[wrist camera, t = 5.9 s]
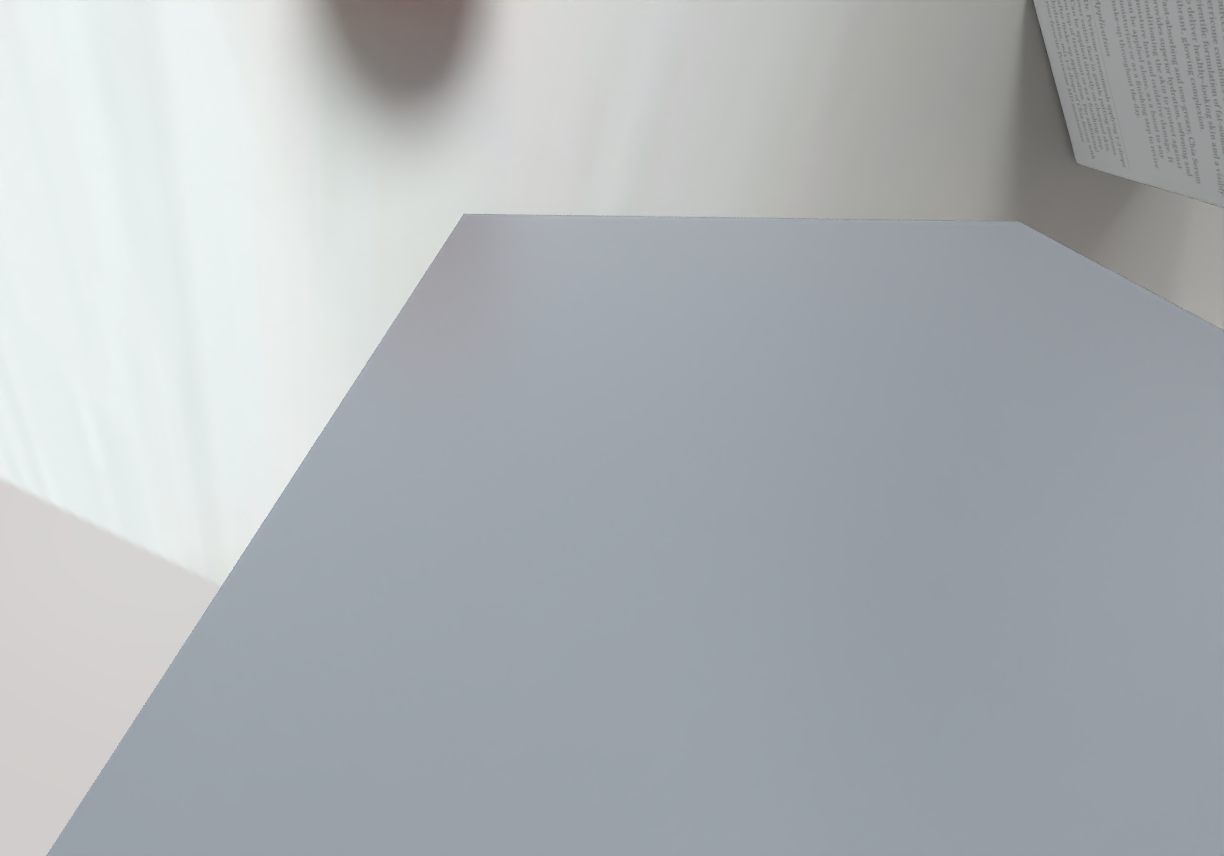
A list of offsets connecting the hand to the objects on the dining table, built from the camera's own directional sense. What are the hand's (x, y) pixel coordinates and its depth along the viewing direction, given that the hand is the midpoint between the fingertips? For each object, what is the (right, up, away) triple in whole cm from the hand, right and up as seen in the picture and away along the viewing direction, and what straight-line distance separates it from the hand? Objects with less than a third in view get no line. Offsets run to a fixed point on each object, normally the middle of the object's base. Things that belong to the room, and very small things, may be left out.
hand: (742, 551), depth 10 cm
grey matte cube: (0, +1, +2) cm, 3 cm away
